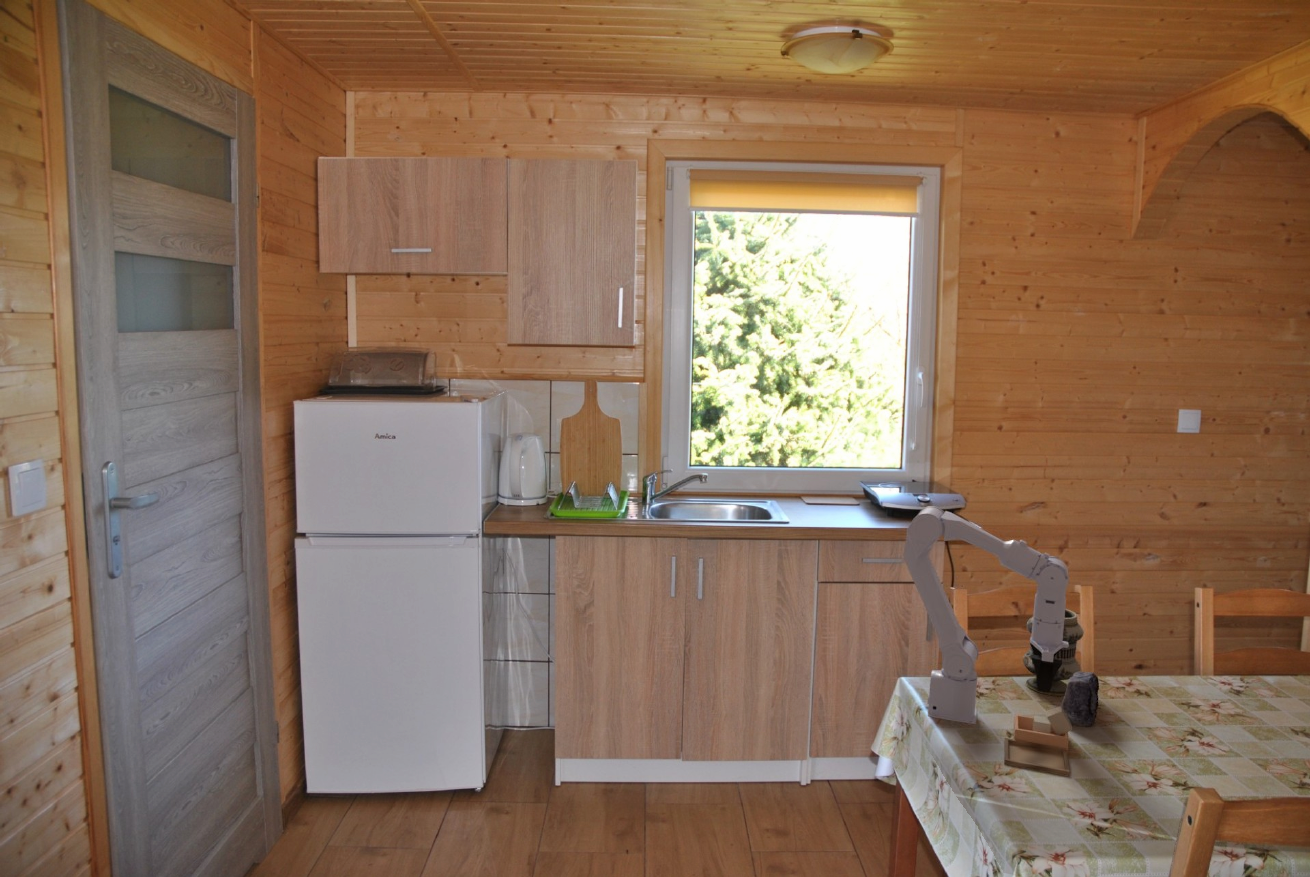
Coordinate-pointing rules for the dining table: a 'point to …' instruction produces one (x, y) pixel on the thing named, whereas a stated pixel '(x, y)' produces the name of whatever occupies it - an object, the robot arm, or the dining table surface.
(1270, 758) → the dining table surface
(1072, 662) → the apothecary jar
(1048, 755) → the tray
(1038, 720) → the stone grey
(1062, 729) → the stone beige
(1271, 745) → the dining table surface
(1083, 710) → the rock
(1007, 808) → the dining table surface
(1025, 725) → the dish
